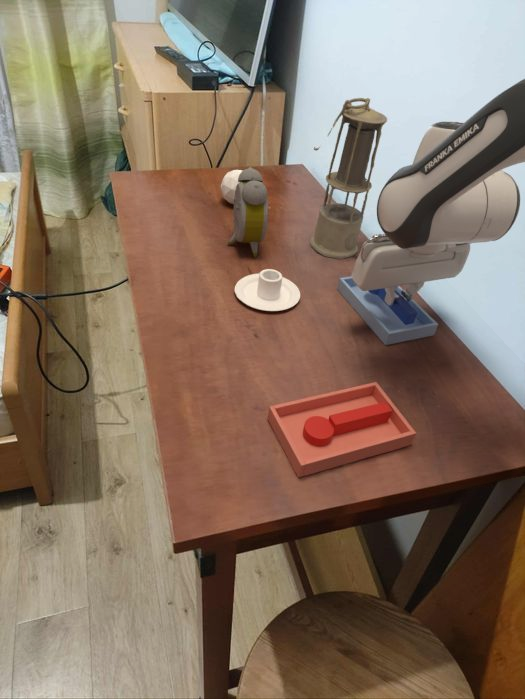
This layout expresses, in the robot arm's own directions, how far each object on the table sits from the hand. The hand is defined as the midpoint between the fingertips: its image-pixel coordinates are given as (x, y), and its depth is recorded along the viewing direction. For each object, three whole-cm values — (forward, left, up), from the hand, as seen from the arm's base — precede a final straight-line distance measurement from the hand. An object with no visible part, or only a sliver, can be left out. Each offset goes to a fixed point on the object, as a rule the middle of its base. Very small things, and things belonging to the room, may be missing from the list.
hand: (397, 301), depth 89 cm
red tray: (-20, +22, -4) cm, 30 cm away
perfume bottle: (+52, +11, -4) cm, 53 cm away
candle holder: (+13, +19, -4) cm, 23 cm away
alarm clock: (+31, +17, -4) cm, 36 cm away
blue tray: (+3, 0, -4) cm, 5 cm away
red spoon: (-20, +21, -4) cm, 29 cm away
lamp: (+27, -1, -4) cm, 27 cm away
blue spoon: (+2, 0, -2) cm, 3 cm away
